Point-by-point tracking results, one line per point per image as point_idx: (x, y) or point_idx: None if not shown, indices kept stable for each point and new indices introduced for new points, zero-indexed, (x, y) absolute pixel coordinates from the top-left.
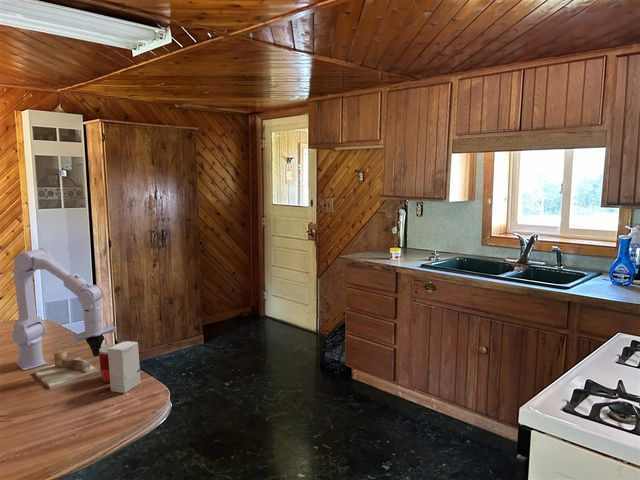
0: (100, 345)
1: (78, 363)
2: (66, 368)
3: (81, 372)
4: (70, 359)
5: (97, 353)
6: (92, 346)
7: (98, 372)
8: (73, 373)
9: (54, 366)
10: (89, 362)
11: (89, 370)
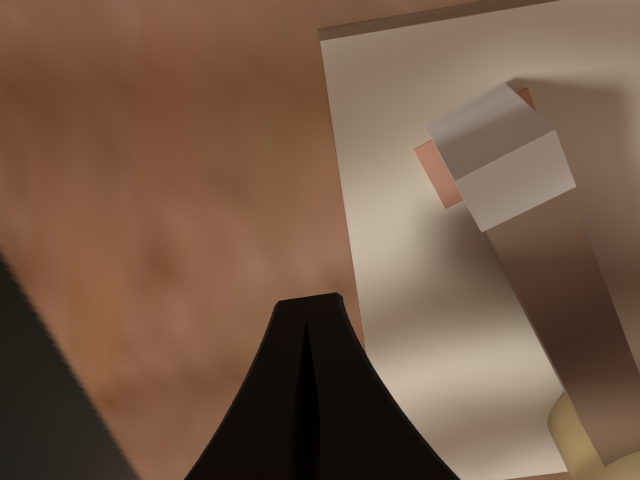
0: (216, 454)
1: (592, 250)
2: None
3: None
4: (598, 415)
5: (299, 325)
6: (430, 453)
7: (333, 34)
8: (613, 171)
9: None
10: (464, 173)
11: (429, 142)
